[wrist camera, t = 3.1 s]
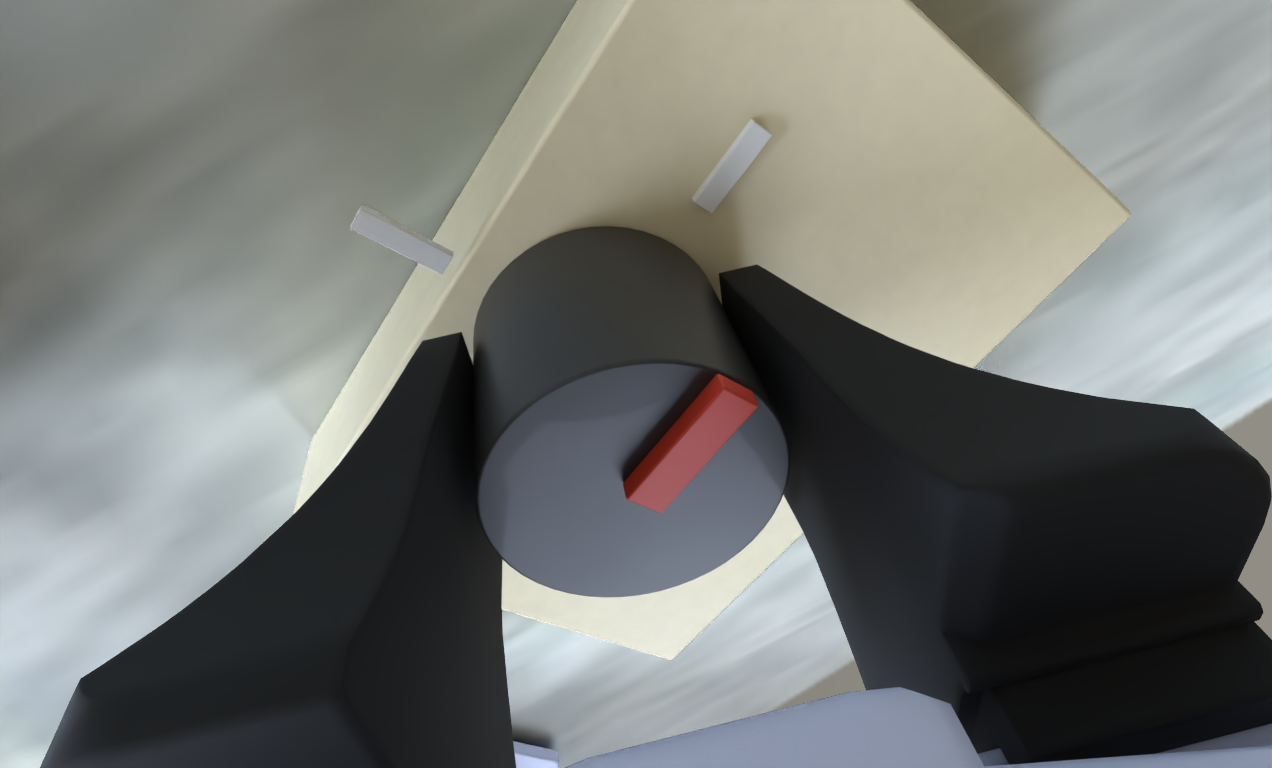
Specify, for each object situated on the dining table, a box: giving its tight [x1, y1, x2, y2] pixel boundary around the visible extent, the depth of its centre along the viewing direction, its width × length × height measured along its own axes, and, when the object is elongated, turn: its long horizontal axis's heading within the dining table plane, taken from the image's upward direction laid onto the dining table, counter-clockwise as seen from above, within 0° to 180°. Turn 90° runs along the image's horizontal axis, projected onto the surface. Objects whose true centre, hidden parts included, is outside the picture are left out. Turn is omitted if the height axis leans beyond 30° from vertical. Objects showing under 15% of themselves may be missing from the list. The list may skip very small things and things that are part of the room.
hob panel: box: [293, 0, 1131, 660], centre depth 15 cm, size 13×11×3 cm
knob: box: [473, 226, 790, 597], centre depth 11 cm, size 4×4×4 cm
